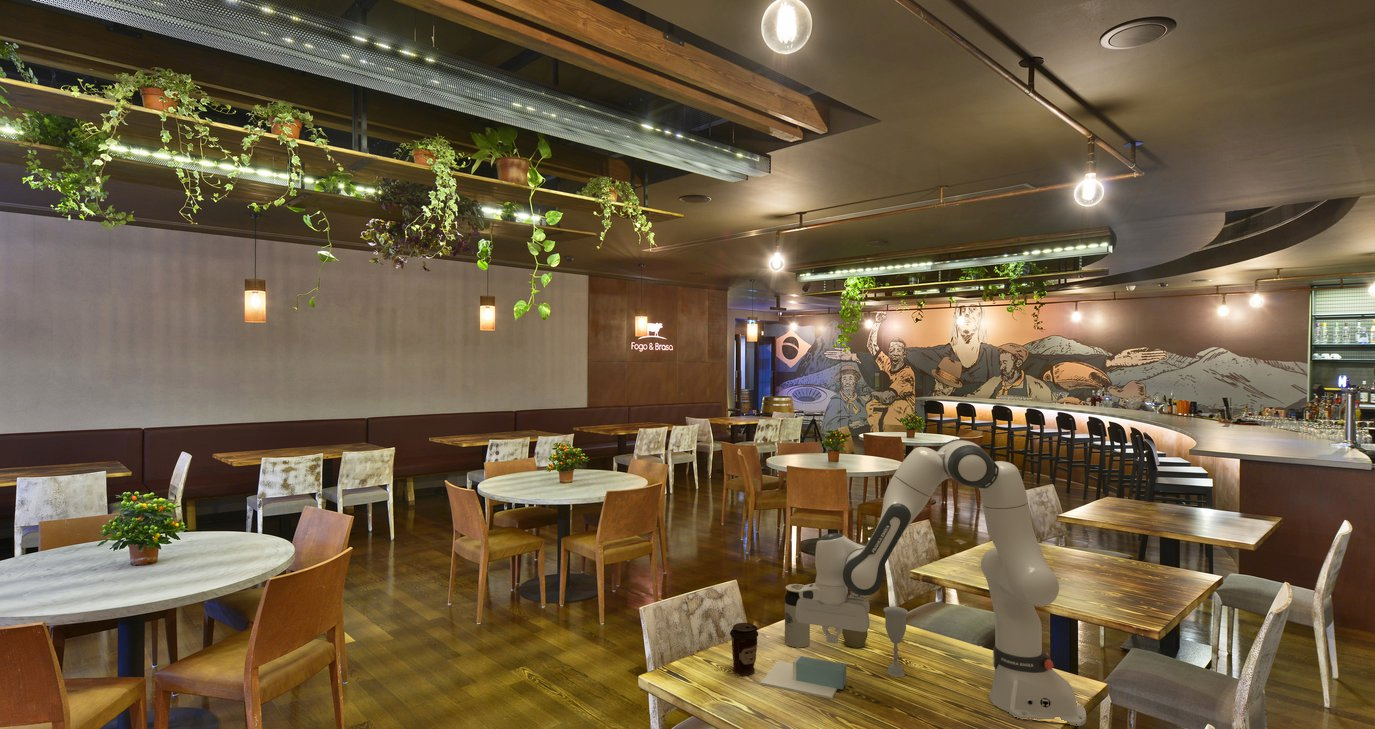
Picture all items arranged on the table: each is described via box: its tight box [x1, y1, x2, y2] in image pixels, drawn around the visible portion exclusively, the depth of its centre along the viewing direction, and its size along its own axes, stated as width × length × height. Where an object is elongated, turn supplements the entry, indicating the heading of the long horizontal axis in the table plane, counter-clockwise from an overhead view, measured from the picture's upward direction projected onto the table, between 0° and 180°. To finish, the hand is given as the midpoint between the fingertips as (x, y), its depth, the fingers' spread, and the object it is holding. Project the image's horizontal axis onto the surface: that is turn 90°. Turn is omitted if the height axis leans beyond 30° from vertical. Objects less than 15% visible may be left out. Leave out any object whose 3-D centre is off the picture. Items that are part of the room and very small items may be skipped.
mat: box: [760, 660, 838, 700], centre depth 192 cm, size 20×16×1 cm
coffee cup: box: [729, 622, 759, 676], centre depth 198 cm, size 9×8×13 cm
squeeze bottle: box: [841, 591, 869, 649], centre depth 218 cm, size 8×8×18 cm
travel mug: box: [784, 583, 811, 649], centre depth 219 cm, size 8×8×18 cm
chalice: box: [883, 606, 909, 678], centre depth 197 cm, size 7×7×18 cm
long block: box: [792, 655, 847, 690], centre depth 190 cm, size 5×5×14 cm
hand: (832, 642), depth 189 cm, fingers closed
